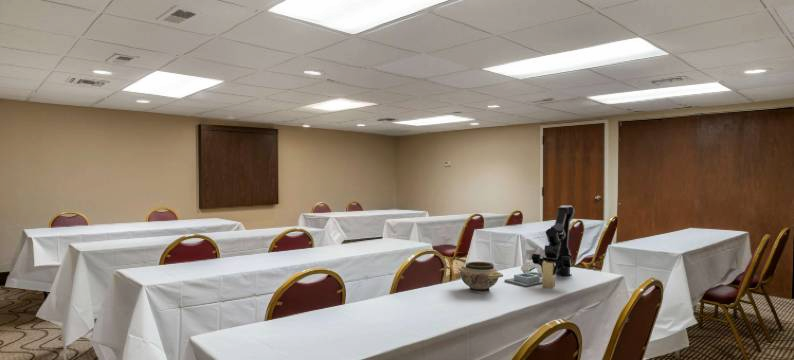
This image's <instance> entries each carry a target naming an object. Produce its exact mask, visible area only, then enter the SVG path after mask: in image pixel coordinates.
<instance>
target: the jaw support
mask: <svg viewBox="0 0 794 360" xmlns="http://www.w3.org/2000/svg"><path fill="white" fill-rule="evenodd" d="M520 270H521V272H522V273H530V272H532V271H533V270H536V271H537V273H538V276H542V269H541V266H540V265H539V264H534V263H533V261H532V259H524V263H523V264H522V265H521V267H520Z"/></svg>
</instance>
